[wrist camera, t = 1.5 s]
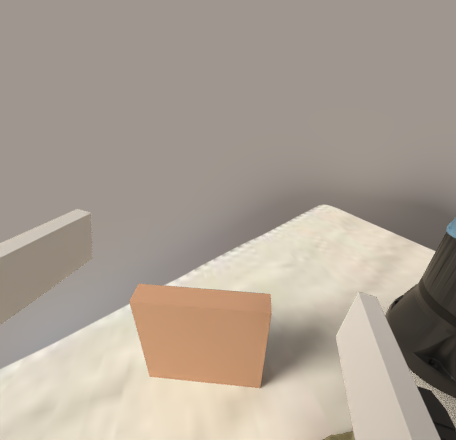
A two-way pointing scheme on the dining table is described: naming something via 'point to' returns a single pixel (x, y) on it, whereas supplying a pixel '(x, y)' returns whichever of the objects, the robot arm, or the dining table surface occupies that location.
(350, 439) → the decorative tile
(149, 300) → the standing tile
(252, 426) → the dining table surface
